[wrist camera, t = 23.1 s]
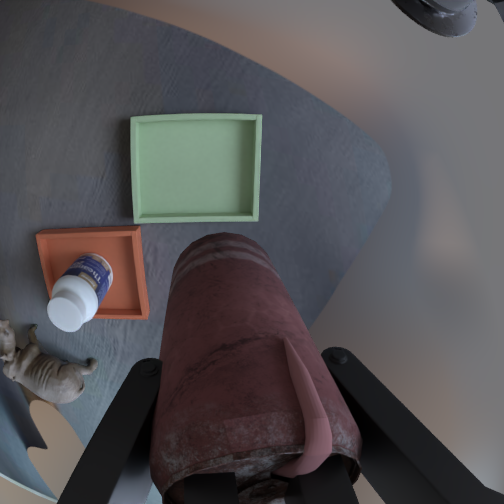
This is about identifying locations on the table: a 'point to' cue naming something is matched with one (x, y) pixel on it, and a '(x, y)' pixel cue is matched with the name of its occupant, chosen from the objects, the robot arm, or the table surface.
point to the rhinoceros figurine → (41, 367)
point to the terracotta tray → (113, 251)
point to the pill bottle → (79, 292)
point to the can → (242, 380)
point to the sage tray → (195, 167)
